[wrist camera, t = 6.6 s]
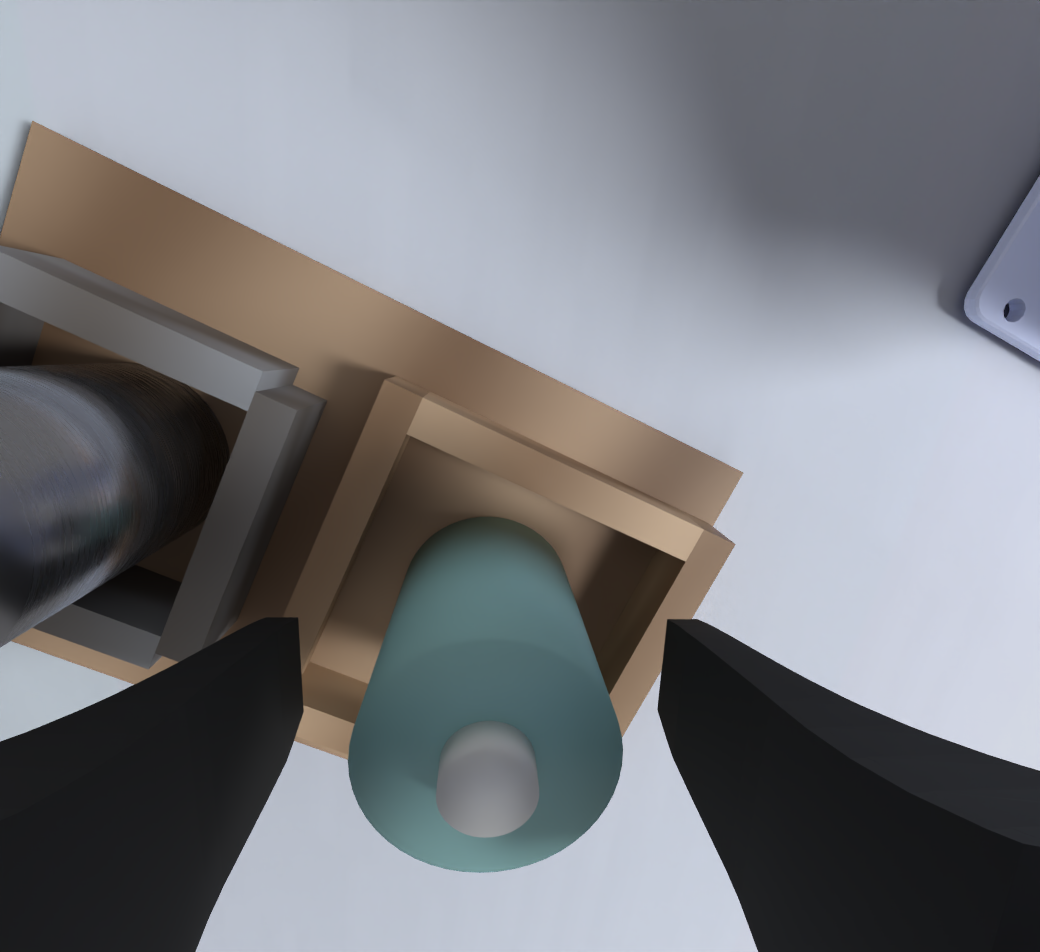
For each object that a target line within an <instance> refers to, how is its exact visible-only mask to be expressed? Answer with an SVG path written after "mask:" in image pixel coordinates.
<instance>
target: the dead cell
mask: <svg viewBox="0 0 1040 952" xmlns="http://www.w3.org/2000/svg"><path fill="white" fill-rule="evenodd" d="M229 458H230V454H229V447H228V443H227V439H226V436H225V433H224V431H223V428H222V426H221V424H220V422H219V420H218V419H217V417H216V415H215V413H214V412H213V411H212V409H211V408H210V407H209V405H208V404H207V403H206V402H205V400H204V399H203V398H202V397H201V396H200V395H199V394H198V393H197V392H196V391H194V390H193V389H192V388H191V387H190V386H188V385H187V384H185V383H182V382H180V381H178V380H176V379H173V378H171V377H169V376H167V375H164V374H162V373H160V372H158V371H155V370H153V369H151V368H148V367H146V366H144V365H142V364H135V363H91V364H64V365H36V366H8V367H0V647H2V646H3V645H5V644H6V643H8V642H10V641H11V640H13V639H15V638H16V637H18V636H19V635H21V634H23V633H24V632H26V631H28V630H29V629H31V628H32V627H34V626H36V625H37V624H39V623H41V622H42V621H44V620H46V619H47V618H49V617H50V616H52V615H54V614H55V613H57V612H59V611H60V610H62V609H63V608H65V607H67V606H68V605H70V604H72V603H73V602H75V601H76V600H78V599H80V598H81V597H83V596H85V595H86V594H88V593H90V592H91V591H93V590H94V589H96V588H98V587H99V586H101V585H103V584H104V583H106V582H107V581H109V580H111V579H112V578H114V577H116V576H117V575H119V574H120V573H122V572H124V571H125V570H127V569H129V568H130V567H132V566H133V565H135V564H137V563H138V562H140V561H142V560H143V559H145V558H147V557H148V556H150V555H151V554H153V553H155V552H156V551H158V550H160V549H161V548H163V547H164V546H166V545H168V544H169V543H171V542H173V541H174V540H176V539H177V538H179V537H181V536H182V535H184V534H186V533H187V532H189V531H190V530H192V529H194V528H195V527H197V526H199V525H200V524H201V523H202V522H204V521H205V520H206V518H207V516H208V513H209V510H210V508H211V505H212V503H213V500H214V497H215V495H216V492H217V490H218V487H219V484H220V482H221V479H222V477H223V474H224V471H225V469H226V466H227V464H228V461H229Z"/></svg>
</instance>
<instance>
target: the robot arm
mask: <svg viewBox="0 0 1040 952" xmlns="http://www.w3.org/2000/svg"><path fill="white" fill-rule="evenodd" d="M1007 303H1008V304H1009V310H1010V311H1009V314H1008V316H1007V318H1006V319H1005V318H1004V312H1003V311H1004V308H1005V305H1006V304H1007ZM964 310H965V313H966V316H967V317H968V318H969V319H970V320H971V321H972V322H974V323H975V324H977V325H979V326H980V327H982V328H984V329H986V330H987V331H989V332H991V333H992V334H994V335H996V336H997V337H999V338H1001V339H1003V340H1004V341H1006V342H1008V343H1009V344H1011V345H1013V346H1014V347H1016V348H1018V349H1019V350H1021V351H1023V352H1025V353H1026V354H1028V355H1030V356H1031V357H1033V358H1035V359H1036V360H1038V361H1040V175H1039V177H1038V179H1037V180H1036V182H1035V184H1034V185H1033V187H1032V188H1031V190H1030V192H1029V193H1028V195H1027V197H1026V198H1025V200H1024V201H1023V203H1022V205H1021V206H1020V208H1019V210H1018V211H1017V213H1016V214H1015V216H1014V218H1013V219H1012V221H1011V222H1010V224H1009V226H1008V227H1007V229H1006V231H1005V232H1004V234H1003V235H1002V237H1001V239H1000V240H999V242H998V244H997V245H996V247H995V248H994V250H993V252H992V253H991V255H990V257H989V258H988V260H987V261H986V263H985V265H984V266H983V268H982V270H981V271H980V273H979V274H978V276H977V278H976V279H975V281H974V283H973V284H972V286H971V287H970V289H969V291H968V293H967V295H966V297H965V300H964ZM303 713H304V707H303V690H302V673H301V656H300V639H299V622H298V617H265V618H262V619H260V620H257V621H255V622H253V623H251V624H249V625H247V626H245V627H243V628H241V629H239V630H237V631H235V632H233V633H232V634H230V635H228V636H226V637H224V638H222V639H220V640H219V641H217V642H215V643H213V644H211V645H209V646H208V647H206V648H204V649H202V650H200V651H198V652H197V653H195V654H193V655H191V656H189V657H187V658H185V659H184V660H182V661H180V662H178V663H176V664H174V665H172V666H171V667H169V668H167V669H165V670H163V671H161V672H159V673H157V674H155V675H153V676H151V677H149V678H147V679H145V680H143V681H141V682H139V683H137V684H135V685H133V686H131V687H129V688H127V689H125V690H123V691H121V692H119V693H117V694H115V695H112V696H110V697H108V698H106V699H104V700H102V701H99V702H97V703H95V704H93V705H91V706H88V707H86V708H84V709H82V710H79V711H77V712H75V713H72V714H70V715H67V716H65V717H63V718H60V719H58V720H55V721H53V722H50V723H48V724H46V725H43V726H41V727H38V728H36V729H33V730H31V731H28V732H26V733H23V734H20V735H18V736H15V737H12V738H9V739H6V740H4V741H1V742H0V952H195V951H196V949H197V946H198V944H199V941H200V939H201V936H202V934H203V931H204V929H205V926H206V924H207V921H208V919H209V916H210V914H211V912H212V910H213V908H214V906H215V903H216V901H217V899H218V897H219V895H220V893H221V890H222V888H223V886H224V884H225V882H226V880H227V878H228V876H229V874H230V872H231V870H232V868H233V866H234V865H235V863H236V861H237V859H238V857H239V855H240V853H241V851H242V849H243V847H244V845H245V843H246V841H247V839H248V837H249V835H250V833H251V831H252V829H253V827H254V825H255V823H256V821H257V819H258V817H259V815H260V813H261V812H262V810H263V808H264V806H265V804H266V802H267V800H268V798H269V796H270V794H271V792H272V790H273V788H274V786H275V784H276V782H277V780H278V778H279V776H280V774H281V772H282V769H283V767H284V765H285V763H286V761H287V758H288V756H289V753H290V750H291V747H292V745H293V742H294V739H295V736H296V733H297V730H298V727H299V724H300V721H301V719H302V716H303ZM658 713H659V716H660V719H661V723H662V726H663V729H664V732H665V736H666V739H667V742H668V745H669V748H670V750H671V753H672V756H673V759H674V761H675V763H676V765H677V768H678V770H679V772H680V774H681V776H682V778H683V780H684V783H685V785H686V787H687V789H688V791H689V793H690V795H691V798H692V800H693V802H694V804H695V806H696V808H697V810H698V812H699V814H700V816H701V818H702V821H703V823H704V825H705V827H706V829H707V831H708V833H709V835H710V837H711V839H712V841H713V844H714V846H715V848H716V850H717V852H718V854H719V856H720V858H721V860H722V862H723V865H724V867H725V869H726V871H727V873H728V875H729V878H730V880H731V882H732V885H733V887H734V889H735V892H736V894H737V896H738V899H739V901H740V904H741V906H742V909H743V912H744V914H745V917H746V920H747V922H748V925H749V928H750V931H751V933H752V936H753V939H754V941H755V944H756V947H757V950H758V952H1040V771H1038V770H1035V769H1032V768H1028V767H1025V766H1022V765H1018V764H1015V763H1012V762H1009V761H1006V760H1003V759H1000V758H996V757H993V756H990V755H987V754H984V753H981V752H978V751H976V750H973V749H970V748H967V747H964V746H962V745H959V744H956V743H953V742H950V741H947V740H945V739H942V738H939V737H936V736H933V735H931V734H928V733H926V732H923V731H921V730H918V729H915V728H913V727H910V726H908V725H905V724H903V723H901V722H898V721H896V720H894V719H891V718H889V717H887V716H884V715H882V714H880V713H877V712H875V711H873V710H870V709H868V708H866V707H863V706H861V705H859V704H857V703H855V702H852V701H850V700H848V699H846V698H844V697H842V696H840V695H838V694H836V693H834V692H832V691H830V690H828V689H826V688H824V687H822V686H820V685H818V684H816V683H814V682H812V681H810V680H808V679H806V678H804V677H802V676H801V675H799V674H797V673H795V672H793V671H791V670H789V669H788V668H786V667H784V666H782V665H780V664H779V663H777V662H775V661H773V660H772V659H770V658H768V657H766V656H764V655H763V654H761V653H759V652H757V651H756V650H754V649H752V648H750V647H749V646H747V645H745V644H743V643H742V642H740V641H738V640H737V639H735V638H733V637H731V636H729V635H728V634H726V633H724V632H722V631H720V630H719V629H717V628H715V627H713V626H711V625H709V624H707V623H705V622H702V621H700V620H698V619H667V625H666V634H665V644H664V653H663V663H662V672H661V681H660V691H659V700H658Z"/></svg>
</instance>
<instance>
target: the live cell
mask: <svg viewBox="0 0 1040 952" xmlns="http://www.w3.org/2000/svg"><path fill="white" fill-rule="evenodd" d="M622 756H623V745H622V735H621V730H620V726H619V722H618V719H617V716H616V713H615V710H614V708H613V705H612V702H611V699H610V696H609V693H608V691H607V688H606V685H605V682H604V679H603V677H602V674H601V671H600V668H599V665H598V662H597V660H596V657H595V654H594V651H593V648H592V646H591V643H590V640H589V637H588V634H587V631H586V629H585V626H584V623H583V620H582V617H581V615H580V612H579V609H578V606H577V603H576V600H575V598H574V595H573V592H572V589H571V586H570V584H569V581H568V578H567V575H566V572H565V570H564V567H563V565H562V562H561V560H560V558H559V556H558V555H557V553H556V551H555V550H554V549H553V547H552V546H551V545H550V544H549V543H548V542H547V541H546V540H545V539H544V538H543V537H542V536H541V535H540V534H538V533H537V532H535V531H534V530H533V529H531V528H529V527H527V526H525V525H523V524H521V523H518V522H516V521H513V520H509V519H505V518H498V517H476V518H469V519H465V520H461V521H458V522H455V523H453V524H451V525H448V526H446V527H445V528H443V529H441V530H439V531H438V532H436V533H435V534H434V535H432V536H431V537H430V538H429V539H428V540H427V541H426V542H425V543H424V544H423V545H422V546H421V547H420V549H419V550H418V551H417V552H416V554H415V556H414V557H413V559H412V561H411V563H410V565H409V568H408V570H407V573H406V576H405V579H404V582H403V584H402V587H401V590H400V593H399V596H398V599H397V602H396V605H395V608H394V611H393V614H392V617H391V619H390V622H389V625H388V628H387V631H386V634H385V637H384V640H383V643H382V646H381V649H380V652H379V655H378V657H377V660H376V663H375V666H374V669H373V672H372V675H371V678H370V681H369V684H368V687H367V690H366V692H365V695H364V698H363V701H362V704H361V707H360V710H359V713H358V716H357V719H356V722H355V725H354V727H353V731H352V735H351V739H350V744H349V754H348V767H349V777H350V781H351V785H352V790H353V792H354V795H355V797H356V800H357V802H358V805H359V806H360V808H361V810H362V812H363V813H364V815H365V817H366V818H367V819H368V821H369V822H370V823H371V824H372V826H373V827H374V828H375V829H376V831H378V832H379V833H380V834H381V835H382V836H383V837H384V838H385V839H386V840H387V841H388V842H390V843H391V844H392V845H394V846H395V847H397V848H398V849H399V850H401V851H402V852H404V853H406V854H408V855H410V856H412V857H413V858H415V859H418V860H420V861H423V862H425V863H428V864H430V865H434V866H437V867H441V868H445V869H449V870H456V871H462V872H479V873H481V872H498V871H504V870H511V869H516V868H519V867H523V866H527V865H530V864H533V863H536V862H538V861H541V860H543V859H546V858H548V857H550V856H552V855H554V854H556V853H558V852H559V851H561V850H563V849H564V848H566V847H567V846H569V845H570V844H572V843H573V842H575V841H576V840H577V839H578V838H579V837H580V836H582V835H583V834H584V833H585V832H586V831H587V830H588V829H589V828H590V827H591V826H592V825H593V824H594V823H595V822H596V821H597V819H598V818H599V817H600V815H601V814H602V812H603V811H604V810H605V808H606V807H607V805H608V803H609V801H610V799H611V797H612V796H613V794H614V791H615V788H616V786H617V783H618V780H619V776H620V771H621V767H622Z"/></svg>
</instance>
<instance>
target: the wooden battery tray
mask: <svg viewBox="0 0 1040 952" xmlns="http://www.w3.org/2000/svg"><path fill="white" fill-rule="evenodd" d="M91 363H135V364H142V365H144V366H146V367H148V368H151V369H153V370H155V371H158V372H160V373H162V374H164V375H167V376H169V377H171V378H173V379H176V380H178V381H180V382H182V383H185V384H187V385H188V386H190V387H191V388H192V389H193V390H194V391H196V392H197V393H198V394H199V395H200V396H201V397H202V398H203V399H204V400H205V402H206V403H207V404H208V405H209V407H210V408H211V409H212V411H213V412H214V413H215V415H216V417H217V419H218V420H219V422H220V424H221V426H222V428H223V431H224V433H225V436H226V439H227V443H228V447H229V454H230V458H229V461H228V464H227V466H226V469H225V471H224V474H223V477H222V479H221V482H220V484H219V487H218V490H217V492H216V495H215V497H214V500H213V503H212V505H211V508H210V510H209V513H208V516H207V518H206V520H205V521H204V522H202V523H201V524H200V525H199V526H197V527H195V528H194V529H192V530H190V531H189V532H187V533H186V534H184V535H182V536H181V537H179V538H177V539H176V540H174V541H173V542H171V543H169V544H168V545H166V546H164V547H163V548H161V549H160V550H158V551H156V552H155V553H153V554H151V555H150V556H148V557H147V558H145V559H143V560H142V561H140V562H138V563H137V564H135V565H133V566H132V567H130V568H129V569H127V570H125V571H124V572H122V573H120V574H119V575H117V576H116V577H114V578H112V579H111V580H109V581H107V582H106V583H104V584H103V585H101V586H99V587H98V588H96V589H94V590H93V591H91V592H90V593H88V594H86V595H85V596H83V597H81V598H80V599H78V600H76V601H75V602H73V603H72V604H70V605H68V606H67V607H65V608H63V609H62V610H60V611H59V612H57V613H55V614H54V615H52V616H50V617H49V618H47V619H46V620H44V621H42V622H41V623H39V624H37V625H36V626H34V627H32V628H31V629H29V630H28V631H26V632H24V633H23V634H21V635H19V636H18V637H16V638H15V639H13V640H11V641H13V642H16V643H19V644H21V645H24V646H27V647H30V648H33V649H36V650H38V651H41V652H44V653H47V654H50V655H53V656H55V657H58V658H61V659H64V660H67V661H70V662H72V663H75V664H78V665H81V666H84V667H87V668H89V669H92V670H95V671H98V672H101V673H104V674H106V675H109V676H112V677H115V678H118V679H121V680H123V681H126V682H129V683H132V684H137V683H139V682H141V681H143V680H145V679H147V678H149V677H151V676H153V675H155V674H157V673H159V672H161V671H163V670H165V669H167V668H169V667H171V666H172V665H174V664H176V663H178V662H180V661H182V660H184V659H185V658H187V657H189V656H191V655H193V654H195V653H197V652H198V651H200V650H202V649H204V648H206V647H208V646H209V645H211V644H213V643H215V642H217V641H219V640H220V639H222V638H224V637H226V636H228V635H230V634H232V633H233V632H235V631H237V630H239V629H241V628H243V627H245V626H247V625H249V624H251V623H253V622H255V621H257V620H260V619H262V618H265V617H298V622H299V639H300V656H301V673H302V690H303V707H304V713H303V716H302V719H301V721H300V724H299V727H298V730H297V733H296V736H295V739H294V741H296V742H299V743H302V744H305V745H308V746H311V747H313V748H316V749H319V750H322V751H325V752H328V753H330V754H333V755H336V756H339V757H342V758H345V759H347V760H348V754H349V744H350V739H351V735H352V731H353V727H354V725H355V722H356V719H357V716H358V713H359V710H360V707H361V704H362V701H363V698H364V695H365V692H366V690H367V687H368V684H369V681H370V678H371V675H372V672H373V669H374V666H375V663H376V660H377V657H378V655H379V652H380V649H381V646H382V643H383V640H384V637H385V634H386V631H387V628H388V625H389V622H390V619H391V617H392V614H393V611H394V608H395V605H396V602H397V599H398V596H399V593H400V590H401V587H402V584H403V582H404V579H405V576H406V573H407V570H408V568H409V565H410V563H411V561H412V559H413V557H414V556H415V554H416V552H417V551H418V550H419V549H420V547H421V546H422V545H423V544H424V543H425V542H426V541H427V540H428V539H429V538H430V537H431V536H432V535H434V534H435V533H436V532H438V531H439V530H441V529H443V528H445V527H446V526H448V525H451V524H453V523H455V522H458V521H461V520H465V519H469V518H476V517H498V518H505V519H509V520H513V521H516V522H518V523H521V524H523V525H525V526H527V527H529V528H531V529H533V530H534V531H535V532H537V533H538V534H540V535H541V536H542V537H543V538H544V539H545V540H546V541H547V542H548V543H549V544H550V545H551V546H552V547H553V549H554V550H555V551H556V553H557V555H558V556H559V558H560V560H561V562H562V565H563V567H564V570H565V572H566V575H567V578H568V581H569V584H570V586H571V589H572V592H573V595H574V598H575V600H576V603H577V606H578V609H579V612H580V615H581V617H582V620H583V623H584V626H585V629H586V631H587V634H588V637H589V640H590V643H591V646H592V648H593V651H594V654H595V657H596V660H597V662H598V665H599V668H600V671H601V674H602V677H603V679H604V682H605V685H606V688H607V691H608V693H609V696H610V699H611V702H612V705H613V708H614V710H615V713H616V716H617V719H618V722H619V726H620V730H621V735H622V737H623V735H624V733H625V731H626V730H627V728H628V726H629V725H630V723H631V721H632V720H633V718H634V716H635V714H636V713H637V711H638V709H639V708H640V706H641V704H642V703H643V701H644V699H645V697H646V696H647V694H648V692H649V691H650V689H651V687H652V686H653V684H654V682H655V680H656V679H657V677H658V675H659V674H660V672H661V670H662V663H663V653H664V644H665V634H666V625H667V619H692V617H693V616H694V614H695V612H696V611H697V609H698V607H699V606H700V604H701V602H702V600H703V599H704V597H705V595H706V594H707V592H708V590H709V589H710V587H711V585H712V583H713V582H714V580H715V578H716V577H717V575H718V573H719V572H720V570H721V568H722V566H723V565H724V563H725V561H726V560H727V558H728V556H729V555H730V553H731V551H732V549H733V548H734V546H735V544H734V543H733V542H732V541H730V540H729V539H728V538H727V537H725V536H724V535H723V534H721V533H720V532H719V531H718V530H716V529H715V528H714V527H713V525H714V523H715V521H716V520H717V518H718V516H719V514H720V513H721V511H722V509H723V507H724V506H725V504H726V502H727V501H728V499H729V497H730V495H731V494H732V492H733V490H734V488H735V487H736V485H737V483H738V481H739V480H740V478H741V476H742V474H743V472H741V471H739V470H737V469H735V468H733V467H731V466H729V465H727V464H725V463H723V462H721V461H719V460H717V459H715V458H713V457H711V456H709V455H707V454H705V453H703V452H701V451H699V450H697V449H695V448H692V447H690V446H688V445H686V444H684V443H682V442H680V441H678V440H676V439H674V438H672V437H670V436H668V435H666V434H664V433H662V432H660V431H658V430H656V429H654V428H652V427H650V426H648V425H646V424H644V423H642V422H640V421H638V420H636V419H634V418H632V417H630V416H628V415H626V414H624V413H622V412H620V411H618V410H616V409H614V408H612V407H610V406H608V405H606V404H604V403H602V402H600V401H598V400H596V399H594V398H591V397H589V396H587V395H585V394H583V393H581V392H579V391H577V390H575V389H573V388H571V387H569V386H567V385H565V384H563V383H561V382H559V381H557V380H555V379H553V378H551V377H549V376H547V375H545V374H543V373H541V372H539V371H537V370H535V369H533V368H531V367H529V366H527V365H525V364H523V363H521V362H519V361H517V360H515V359H513V358H511V357H509V356H507V355H505V354H503V353H501V352H499V351H497V350H495V349H493V348H490V347H488V346H486V345H484V344H482V343H480V342H478V341H476V340H474V339H472V338H470V337H468V336H466V335H464V334H462V333H460V332H458V331H456V330H454V329H452V328H450V327H448V326H446V325H444V324H442V323H440V322H438V321H436V320H434V319H432V318H430V317H428V316H426V315H424V314H422V313H420V312H418V311H416V310H414V309H412V308H410V307H408V306H406V305H404V304H402V303H400V302H398V301H396V300H394V299H392V298H389V297H387V296H385V295H383V294H381V293H379V292H377V291H375V290H373V289H371V288H369V287H367V286H365V285H363V284H361V283H359V282H357V281H355V280H353V279H351V278H349V277H347V276H345V275H343V274H341V273H339V272H337V271H335V270H333V269H331V268H329V267H327V266H325V265H323V264H321V263H319V262H317V261H315V260H313V259H311V258H309V257H307V256H305V255H303V254H301V253H299V252H297V251H295V250H293V249H291V248H288V247H286V246H284V245H282V244H280V243H278V242H276V241H274V240H272V239H270V238H268V237H266V236H264V235H262V234H260V233H258V232H256V231H254V230H252V229H250V228H248V227H246V226H244V225H242V224H240V223H238V222H236V221H234V220H232V219H230V218H228V217H226V216H224V215H222V214H220V213H218V212H216V211H214V210H212V209H210V208H208V207H206V206H204V205H202V204H200V203H198V202H196V201H194V200H192V199H190V198H187V197H185V196H183V195H181V194H179V193H177V192H175V191H173V190H171V189H169V188H167V187H165V186H163V185H161V184H159V183H157V182H155V181H153V180H151V179H149V178H147V177H145V176H143V175H141V174H139V173H137V172H135V171H133V170H131V169H129V168H127V167H125V166H123V165H121V164H119V163H117V162H115V161H113V160H111V159H109V158H107V157H105V156H103V155H101V154H99V153H97V152H95V151H93V150H91V149H89V148H87V147H84V146H82V145H80V144H78V143H76V142H74V141H72V140H70V139H68V138H66V137H64V136H62V135H60V134H58V133H56V132H54V131H52V130H50V129H48V128H46V127H44V126H42V125H40V124H38V123H36V122H34V121H32V124H31V127H30V131H29V135H28V138H27V142H26V145H25V149H24V153H23V156H22V160H21V163H20V167H19V171H18V174H17V178H16V181H15V185H14V188H13V192H12V196H11V199H10V203H9V206H8V210H7V214H6V217H5V221H4V224H3V228H2V232H1V235H0V367H8V366H36V365H64V364H91Z"/></svg>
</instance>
